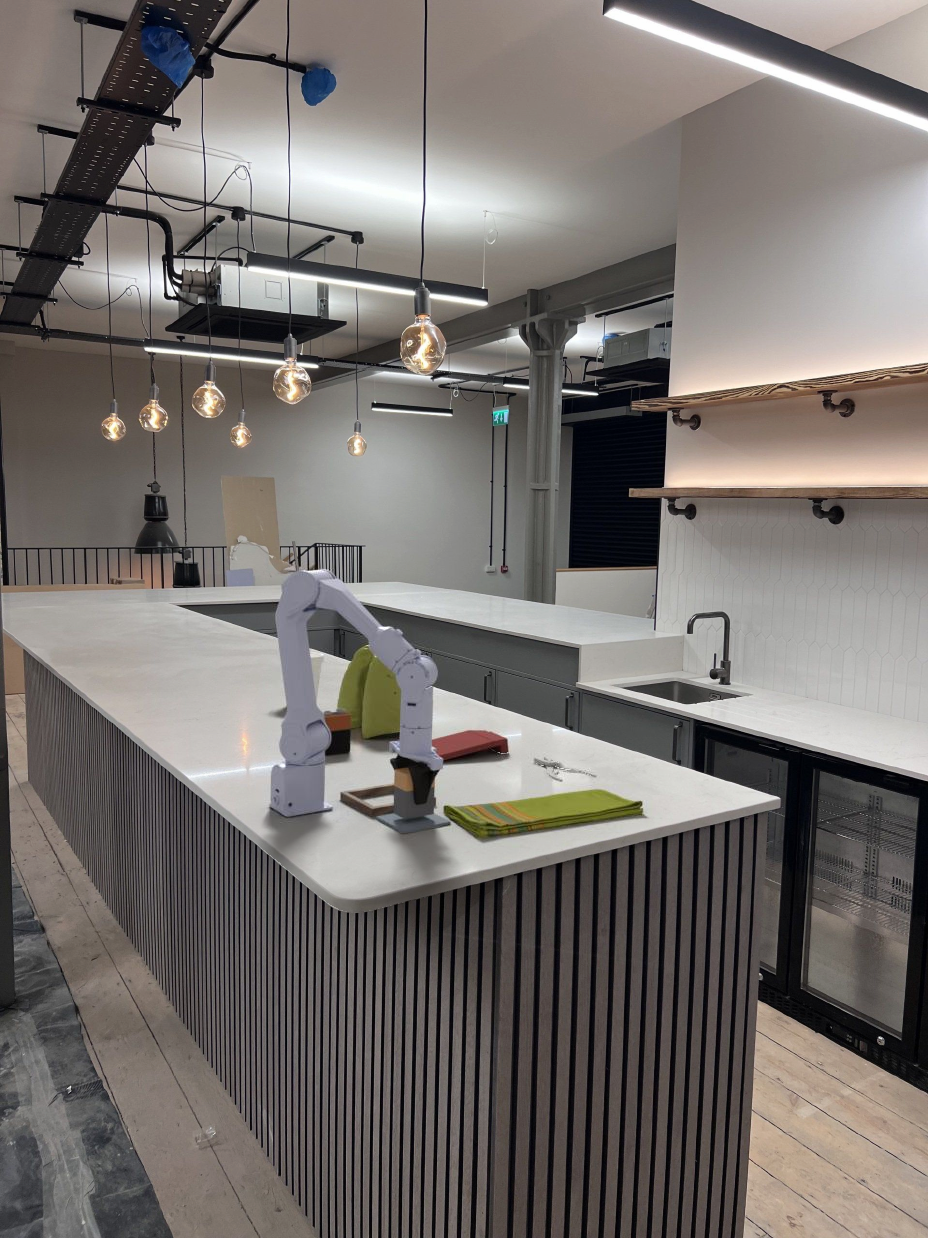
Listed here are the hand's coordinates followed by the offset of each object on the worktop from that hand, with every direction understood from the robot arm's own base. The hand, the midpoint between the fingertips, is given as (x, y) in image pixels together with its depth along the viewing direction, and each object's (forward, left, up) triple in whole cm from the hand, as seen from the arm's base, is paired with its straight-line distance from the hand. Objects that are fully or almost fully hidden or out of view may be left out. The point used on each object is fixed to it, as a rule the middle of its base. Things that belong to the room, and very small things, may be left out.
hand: (413, 800), depth 158 cm
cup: (+28, +103, -4) cm, 107 cm away
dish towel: (+24, -8, -5) cm, 26 cm away
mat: (0, 0, -4) cm, 4 cm away
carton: (+35, +36, -5) cm, 50 cm away
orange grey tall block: (0, 0, -2) cm, 2 cm away
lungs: (+32, +67, -4) cm, 74 cm away
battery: (+11, +51, -4) cm, 52 cm away
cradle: (+2, +12, -4) cm, 13 cm away
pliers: (+47, +13, -4) cm, 49 cm away
